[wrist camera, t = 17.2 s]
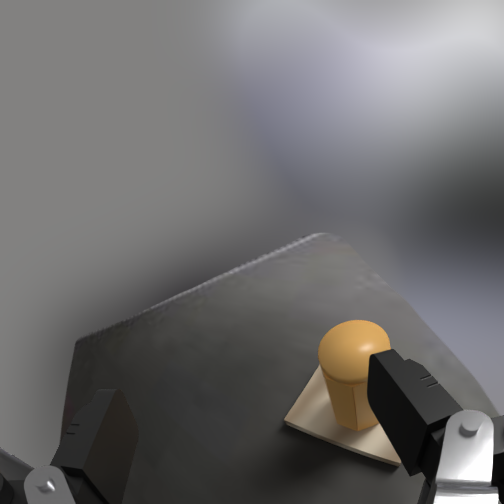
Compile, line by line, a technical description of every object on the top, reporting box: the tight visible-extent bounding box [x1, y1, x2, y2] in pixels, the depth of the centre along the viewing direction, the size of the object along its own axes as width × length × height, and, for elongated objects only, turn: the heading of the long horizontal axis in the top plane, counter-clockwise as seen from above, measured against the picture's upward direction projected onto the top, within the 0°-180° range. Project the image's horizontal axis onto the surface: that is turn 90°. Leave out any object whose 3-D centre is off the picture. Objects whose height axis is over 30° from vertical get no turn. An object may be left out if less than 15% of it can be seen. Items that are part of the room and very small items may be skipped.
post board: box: [284, 365, 401, 467], centre depth 29 cm, size 14×10×8 cm
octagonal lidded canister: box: [318, 320, 391, 431], centre depth 27 cm, size 6×6×11 cm
